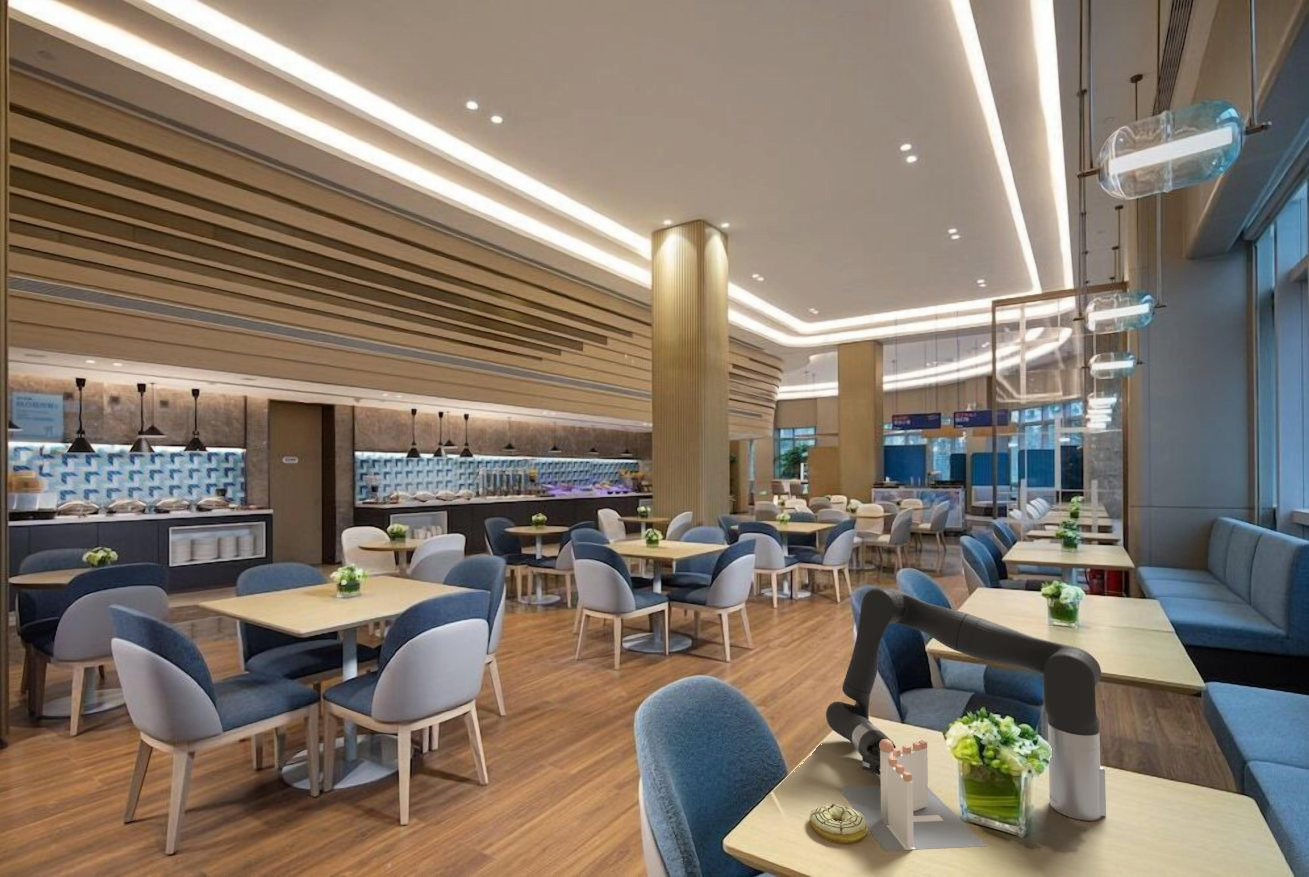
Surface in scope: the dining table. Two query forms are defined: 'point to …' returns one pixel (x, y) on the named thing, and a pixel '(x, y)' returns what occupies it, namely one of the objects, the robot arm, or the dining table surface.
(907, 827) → the fence post and fixed panel
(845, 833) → the decorated donut
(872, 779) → the dining table surface
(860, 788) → the card
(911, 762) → the white crenellated wall panel
